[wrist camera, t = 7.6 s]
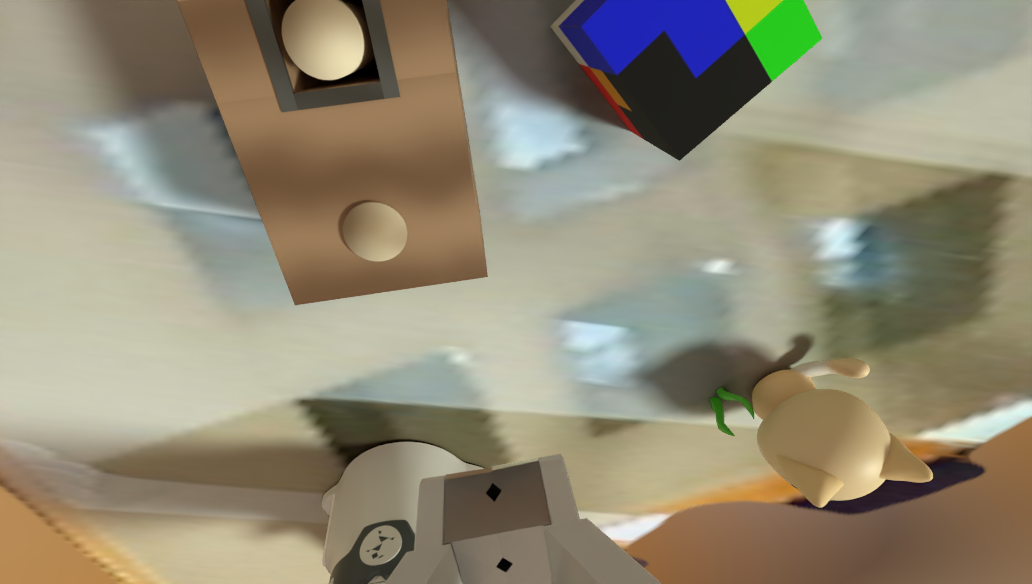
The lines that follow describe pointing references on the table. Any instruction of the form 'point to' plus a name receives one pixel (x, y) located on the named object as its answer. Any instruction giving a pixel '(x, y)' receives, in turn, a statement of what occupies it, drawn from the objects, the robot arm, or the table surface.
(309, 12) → the peg
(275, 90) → the walnut block
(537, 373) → the table surface
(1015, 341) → the table surface
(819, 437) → the kitten
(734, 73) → the puzzle toy
